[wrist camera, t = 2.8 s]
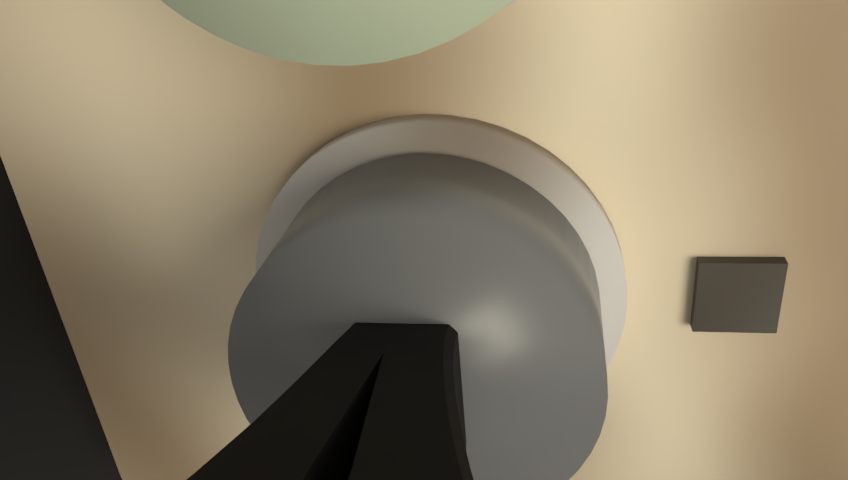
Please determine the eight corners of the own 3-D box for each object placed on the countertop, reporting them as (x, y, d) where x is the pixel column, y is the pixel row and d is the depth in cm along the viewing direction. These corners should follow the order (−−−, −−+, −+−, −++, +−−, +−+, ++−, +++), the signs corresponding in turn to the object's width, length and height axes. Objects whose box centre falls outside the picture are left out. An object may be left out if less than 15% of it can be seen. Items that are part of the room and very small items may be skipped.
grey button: (604, 149, 10) (616, 217, 8) (595, 436, 12) (602, 536, 10) (249, 156, 11) (189, 219, 9) (304, 422, 13) (265, 512, 11)
